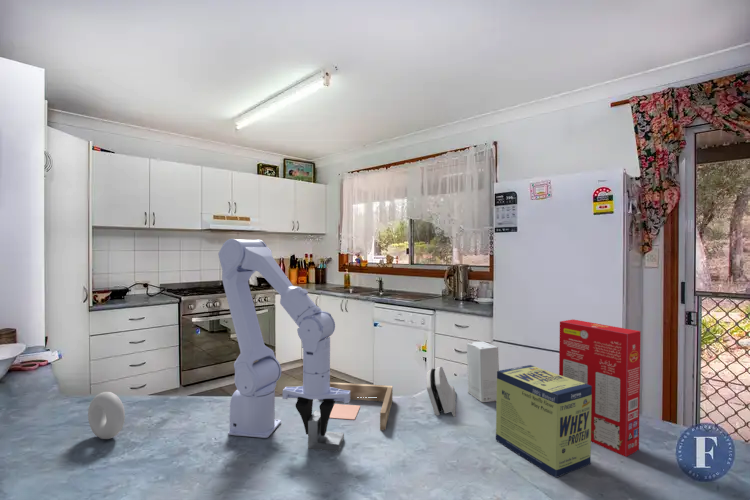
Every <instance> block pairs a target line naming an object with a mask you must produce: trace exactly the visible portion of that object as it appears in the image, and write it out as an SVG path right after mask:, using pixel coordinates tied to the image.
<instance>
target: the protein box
mask: <svg viewBox="0 0 750 500" xmlns="http://www.w3.org/2000/svg"><path fill="white" fill-rule="evenodd" d="M591 401H592V386H591V385H588V384H585V383H582V382H579V381H576V380H573V379H570V378H567V377H564V376H561V375H559V373H555V372H553V371H552V372H551V371H548V370H546V369H543V368H540V367H538V366H535V365H532V364H528V365H524V366H523V365H522V366H517V367H512V368H507V369H506V368H505V369H501V370H500V369H499V371H497V401H496V404H495V405H496V411H495V412H496V415H495V418H496V419H495V421H496V422H495V440H496V441H497V442H499V444H501V445H503V446H504V447H506V448H508V449H509V450H511V451H512V452H514V453H516V454H518V455H519V456H520V457H522V458H523V459H525V460H527V461H529V462H530V463H531V464H533V465H534V466H536V467H538V468H540V469H541V470H543V471H544V472H546V473H548V474H549V475H550V476H552V477H554V478H558V477H561V476H563V475H567V474H569V473H571V472H573V471H576V470H578V469H580V468H583V467H586V466H588V465H591V463H592V462H591V451H592V450H591V448H592V446H591V445H592V442H591Z"/></svg>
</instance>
